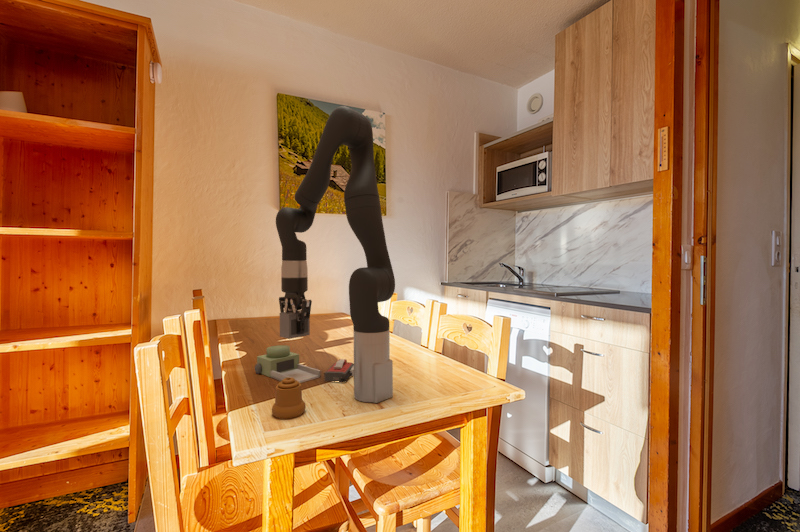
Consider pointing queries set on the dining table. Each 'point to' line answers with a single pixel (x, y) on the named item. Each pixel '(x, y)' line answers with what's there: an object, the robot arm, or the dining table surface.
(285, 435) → the dining table surface
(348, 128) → the robot arm
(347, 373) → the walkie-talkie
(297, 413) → the ornamental finial
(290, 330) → the grey cube box
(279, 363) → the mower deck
